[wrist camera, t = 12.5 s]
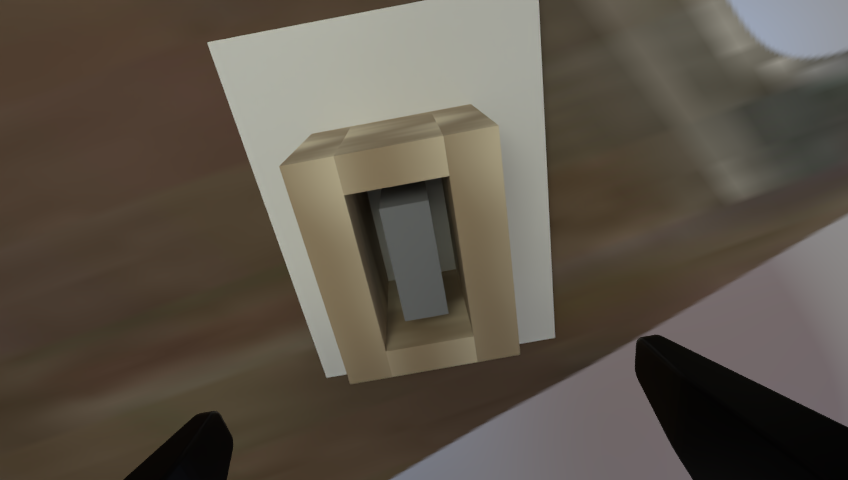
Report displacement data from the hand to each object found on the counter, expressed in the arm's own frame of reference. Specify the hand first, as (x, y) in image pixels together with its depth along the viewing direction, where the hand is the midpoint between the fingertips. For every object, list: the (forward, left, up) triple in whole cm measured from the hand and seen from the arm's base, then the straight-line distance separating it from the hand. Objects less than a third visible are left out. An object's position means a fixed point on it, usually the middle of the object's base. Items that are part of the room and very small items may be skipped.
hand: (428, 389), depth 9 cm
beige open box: (0, 0, -10) cm, 10 cm away
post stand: (0, 0, -11) cm, 11 cm away
